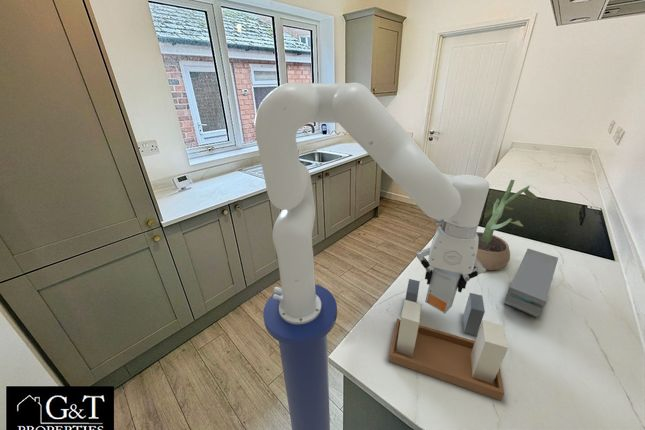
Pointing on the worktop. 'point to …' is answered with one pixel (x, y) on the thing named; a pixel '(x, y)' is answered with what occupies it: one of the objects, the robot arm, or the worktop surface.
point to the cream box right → (488, 351)
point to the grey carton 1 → (412, 290)
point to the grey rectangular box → (532, 282)
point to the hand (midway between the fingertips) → (443, 284)
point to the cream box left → (408, 327)
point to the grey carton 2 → (473, 314)
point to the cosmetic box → (442, 289)
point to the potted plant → (491, 247)
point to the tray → (444, 360)
